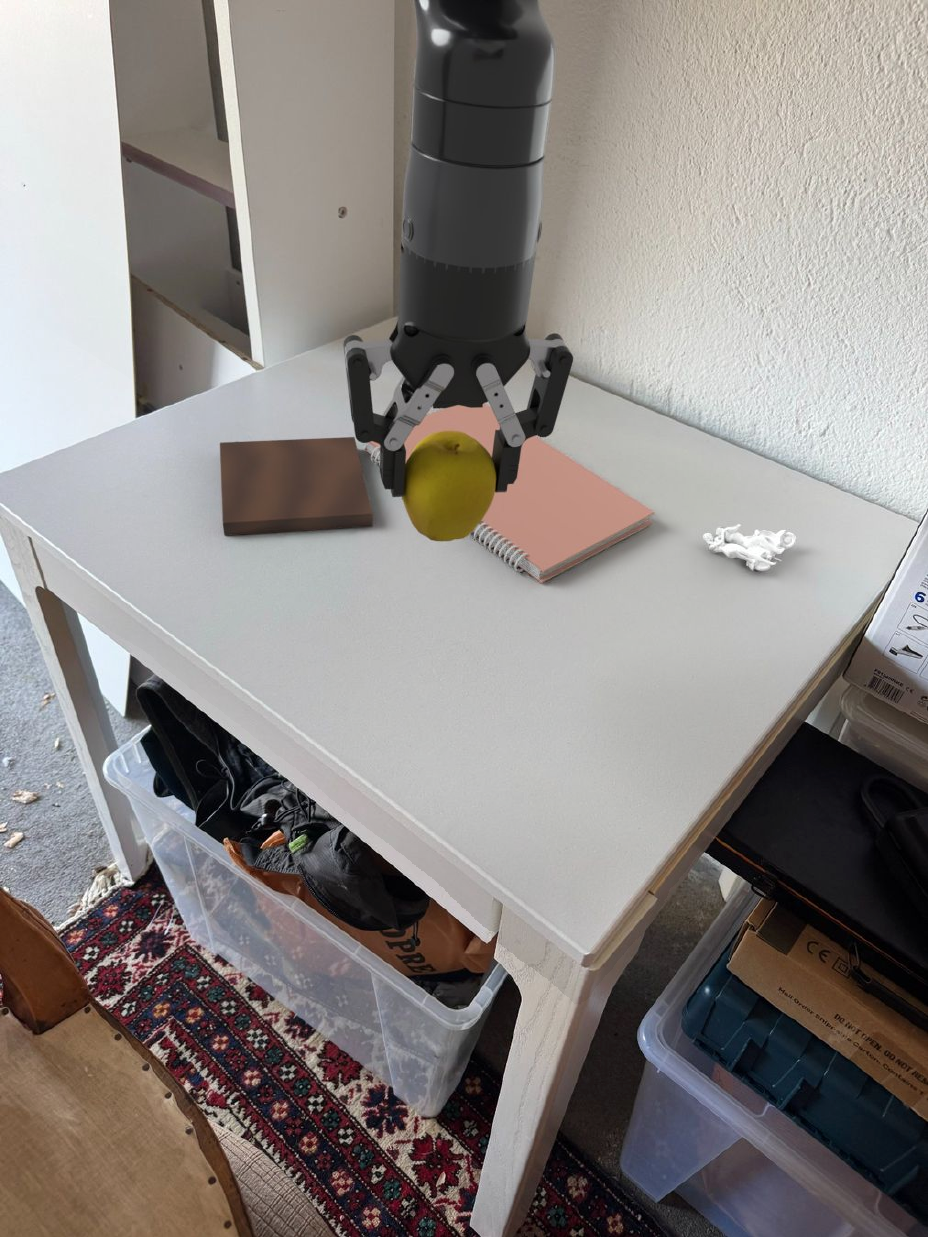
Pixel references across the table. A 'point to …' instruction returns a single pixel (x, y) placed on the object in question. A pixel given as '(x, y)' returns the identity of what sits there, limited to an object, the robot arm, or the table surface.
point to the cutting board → (292, 486)
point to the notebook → (539, 500)
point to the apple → (448, 485)
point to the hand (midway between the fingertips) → (447, 487)
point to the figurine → (751, 545)
